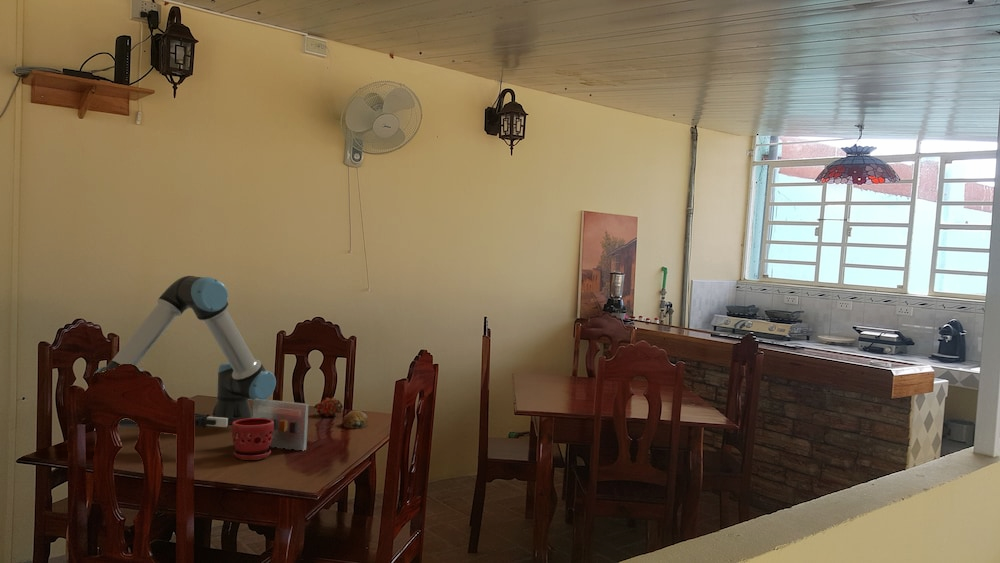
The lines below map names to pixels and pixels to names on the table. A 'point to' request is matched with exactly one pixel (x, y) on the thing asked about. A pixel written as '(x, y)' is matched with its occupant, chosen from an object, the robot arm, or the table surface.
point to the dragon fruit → (329, 407)
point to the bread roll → (355, 420)
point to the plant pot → (252, 438)
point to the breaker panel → (284, 422)
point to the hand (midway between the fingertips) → (226, 422)
